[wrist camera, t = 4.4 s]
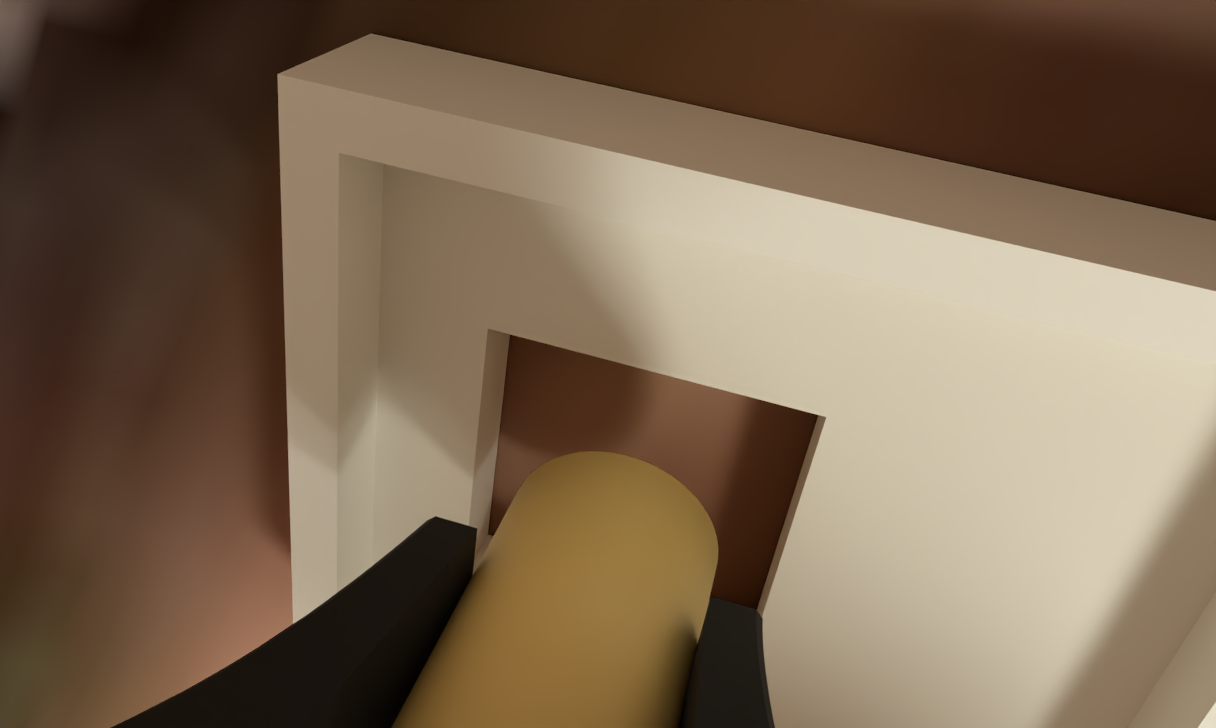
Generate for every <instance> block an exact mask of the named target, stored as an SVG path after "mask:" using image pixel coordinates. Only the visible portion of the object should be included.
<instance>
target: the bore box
mask: <svg viewBox="0 0 1216 728" xmlns="http://www.w3.org/2000/svg"><path fill="white" fill-rule="evenodd" d="M277 77H278V112H279V147H280V182H281V217H282V252H283V287H284V322H285V357H286V392H287V427H288V462H289V497H290V532H291V567H292V602H293V624H294V623H295V622H297V621H298V620H300V619H301V618H303V617H304V616H306V615H307V614H309V613H310V612H312V611H313V610H314V609H316V608H317V607H319V606H320V605H321V604H323V603H324V602H325V601H327V600H328V599H329V598H331V597H332V596H333V595H335V594H336V593H337V592H339V591H340V590H341V589H343V588H344V587H345V586H347V585H348V584H349V583H351V582H352V581H353V580H355V579H356V578H357V577H359V576H360V575H361V574H363V573H364V572H365V571H366V570H368V569H369V568H370V567H371V566H373V565H374V564H375V563H376V562H378V561H379V560H380V559H381V558H383V557H384V556H385V555H386V554H388V553H389V552H390V551H391V550H393V549H394V548H395V547H396V546H397V545H399V544H400V543H401V542H402V541H403V540H405V539H406V538H407V537H408V536H409V535H411V534H412V533H413V532H414V531H415V530H416V529H418V528H419V527H420V526H421V525H422V524H423V523H425V522H426V521H427V520H429V519H431V518H433V517H435V516H437V517H440V518H443V519H447V520H450V521H454V522H457V523H461V524H464V525H468V526H471V527H474V528H477V537H476V547H475V557H474V567H473V574H474V572H475V570H476V568H477V566H478V564H479V563H480V561H481V559H482V557H483V555H484V553H485V551H486V549H487V548H488V546H489V544H490V542H491V540H492V538H493V536H491V535H488V529H489V520H490V511H491V502H492V493H493V484H494V475H495V466H496V457H497V448H498V439H499V430H500V421H501V412H502V403H503V393H504V384H505V375H506V366H507V357H508V348H509V339H510V334H511V335H514V336H518V337H522V338H526V339H530V340H534V341H537V342H541V343H545V344H549V345H553V346H556V347H560V348H564V349H568V350H572V351H576V352H579V353H583V354H587V355H591V356H595V357H598V358H602V359H606V360H610V361H614V362H618V363H621V364H625V365H629V366H633V367H637V368H641V369H644V370H648V371H652V372H656V373H660V374H663V375H667V376H671V377H675V378H679V379H683V380H686V381H690V382H694V383H698V384H702V385H705V386H709V387H713V388H717V389H721V390H725V391H728V392H732V393H736V394H740V395H744V396H747V397H751V398H755V399H759V400H763V401H767V402H770V403H774V404H778V405H782V406H786V407H790V408H793V409H797V410H801V411H805V412H809V413H812V414H816V415H818V418H817V421H816V424H815V427H814V431H813V434H812V437H811V440H810V443H809V446H808V450H807V453H806V456H805V459H804V462H803V465H802V468H801V472H800V475H799V478H798V481H797V484H796V487H795V491H794V494H793V497H792V500H791V503H790V506H789V510H788V513H787V516H786V519H785V522H784V525H783V528H782V532H781V535H780V538H779V541H778V544H777V547H776V551H775V554H774V557H773V560H772V563H771V566H770V569H769V573H768V576H767V579H766V582H765V585H764V588H763V592H762V595H761V598H760V601H759V604H758V607H757V611H758V612H759V614H760V615H761V617H762V618H763V650H764V661H765V669H766V677H767V684H768V691H769V698H770V704H771V709H772V715H773V720H774V725H775V728H1216V221H1213V220H1209V219H1204V218H1200V217H1195V216H1191V215H1186V214H1182V213H1177V212H1173V211H1168V210H1164V209H1159V208H1155V207H1150V206H1146V205H1141V204H1137V203H1132V202H1128V201H1123V200H1119V199H1114V198H1110V197H1105V196H1101V195H1096V194H1092V193H1087V192H1083V191H1078V190H1074V189H1069V188H1065V187H1060V186H1056V185H1051V184H1047V183H1042V182H1038V181H1033V180H1029V179H1024V178H1020V177H1015V176H1011V175H1006V174H1002V173H997V172H993V171H988V170H984V169H979V168H975V167H970V166H966V165H961V164H957V163H952V162H948V161H943V160H939V159H934V158H930V157H925V156H921V155H916V154H912V153H907V152H903V151H898V150H894V149H889V148H885V147H880V146H876V145H871V144H867V143H862V142H858V141H853V140H849V139H844V138H840V137H835V136H831V135H826V134H822V133H817V132H813V131H808V130H804V129H799V128H795V127H790V126H786V125H781V124H777V123H772V122H768V121H763V120H759V119H754V118H750V117H745V116H741V115H736V114H732V113H727V112H723V111H718V110H714V109H709V108H705V107H700V106H696V105H691V104H687V103H682V102H677V101H673V100H668V99H664V98H659V97H655V96H650V95H646V94H641V93H637V92H632V91H628V90H623V89H619V88H614V87H610V86H605V85H601V84H596V83H592V82H587V81H583V80H578V79H574V78H569V77H565V76H560V75H556V74H551V73H547V72H542V71H538V70H533V69H529V68H524V67H520V66H515V65H511V64H506V63H502V62H497V61H493V60H488V59H484V58H479V57H475V56H470V55H466V54H461V53H457V52H452V51H448V50H443V49H439V48H434V47H430V46H425V45H421V44H416V43H412V42H407V41H403V40H398V39H394V38H389V37H385V36H380V35H376V34H369V35H366V36H364V37H362V38H360V39H357V40H355V41H353V42H350V43H348V44H346V45H343V46H341V47H339V48H337V49H334V50H332V51H330V52H327V53H325V54H323V55H320V56H318V57H316V58H314V59H311V60H309V61H307V62H304V63H302V64H300V65H297V66H295V67H293V68H291V69H288V70H286V71H284V72H281V73H279V74H277ZM709 601H710V599H709ZM708 605H709V602H708ZM707 608H708V606H707ZM706 612H707V611H706Z"/></svg>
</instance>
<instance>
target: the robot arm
mask: <svg viewBox="0 0 1216 728" xmlns="http://www.w3.org/2000/svg"><path fill="white" fill-rule="evenodd" d="M476 537H477V528H474V527H471V526H468V525H464V524H461V523H457V522H454V521H450V520H447V519H443V518H440V517H437V516H435V517H433V518H431V519H429V520H427V521H426V522H425V523H423V524H422V525H421V526H420V527H419V528H418V529H416V530H415V531H414V532H413V533H412V534H411V535H409V536H408V537H407V538H406V539H405V540H403V541H402V542H401V543H400V544H399V545H397V546H396V547H395V548H394V549H393V550H391V551H390V552H389V553H388V554H386V555H385V556H384V557H383V558H381V559H380V560H379V561H378V562H376V563H375V564H374V565H373V566H371V567H370V568H369V569H368V570H366V571H365V572H364V573H363V574H361V575H360V576H359V577H357V578H356V579H355V580H353V581H352V582H351V583H349V584H348V585H347V586H345V587H344V588H343V589H341V590H340V591H339V592H337V593H336V594H335V595H333V596H332V597H331V598H329V599H328V600H327V601H325V602H324V603H323V604H321V605H320V606H319V607H317V608H316V609H314V610H313V611H312V612H310V613H309V614H307V615H306V616H304V617H303V618H301V619H300V620H298V621H297V622H295V623H294V624H292V625H291V626H289V627H288V628H286V629H285V630H283V631H282V632H280V633H279V634H277V635H276V636H274V637H273V638H272V639H270V640H269V641H267V642H266V643H264V644H263V645H261V646H260V647H258V648H256V649H255V650H253V651H252V652H250V653H248V654H247V655H245V656H244V657H242V658H240V659H239V660H237V661H235V662H234V663H232V664H230V665H229V666H227V667H225V668H224V669H222V670H220V671H219V672H217V673H215V674H213V675H212V676H210V677H208V678H206V679H204V680H203V681H201V682H199V683H197V684H196V685H194V686H192V687H190V688H188V689H187V690H185V691H183V692H181V693H179V694H177V695H175V696H173V697H171V698H169V699H167V700H165V701H163V702H161V703H160V704H158V705H156V706H154V707H152V708H150V709H148V710H146V711H144V712H142V713H140V714H138V715H136V716H134V717H132V718H130V719H128V720H126V721H124V722H122V723H119V724H117V725H115V726H113V727H111V728H391V727H392V725H393V724H394V722H395V720H396V718H397V716H398V714H399V712H400V710H401V709H402V707H403V705H404V703H405V701H406V699H407V697H408V695H409V694H410V692H411V690H412V688H413V686H414V684H415V682H416V680H417V679H418V677H419V675H420V673H421V671H422V669H423V667H424V665H425V664H426V662H427V660H428V658H429V656H430V654H431V652H432V651H433V649H434V647H435V645H436V643H437V641H438V639H439V637H440V636H441V634H442V632H443V630H444V628H445V626H446V624H447V622H448V621H449V619H450V617H451V615H452V613H453V611H454V609H455V607H456V606H457V604H458V602H459V600H460V598H461V596H462V594H463V592H464V591H465V589H466V587H467V585H468V583H469V581H470V579H471V577H472V576H473V567H474V557H475V547H476ZM679 728H775V725H774V720H773V715H772V709H771V704H770V698H769V691H768V684H767V677H766V669H765V661H764V650H763V618H762V617H761V615H760V614H759V612H758V611H757V610H756V609H753V608H749V607H746V606H742V605H739V604H735V603H732V602H729V601H725V600H722V599H718V598H715V597H711V598H710V601H709V605H708V608H707V612H706V615H705V619H704V623H703V626H702V630H701V633H700V637H699V640H698V644H697V648H696V652H695V656H694V661H693V665H692V669H691V673H690V678H689V682H688V686H687V690H686V695H685V699H684V703H683V708H682V714H681V720H680V725H679Z"/></svg>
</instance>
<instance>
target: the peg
mask: <svg viewBox="0 0 1216 728" xmlns="http://www.w3.org/2000/svg"><path fill="white" fill-rule="evenodd" d="M718 549H719V548H718V541H717V536H716V532H715V529H714V526H713V524H712V522H711V519H710V517H709V515H708V513H707V512H706V510H705V509H704V507H703V506H702V504H701V503H700V502H699V501H698V499H697V498H696V497H695V496H694V495H693V493H692V492H690V491H689V490H688V489H687V488H686V487H685V486H684V485H683V484H682V483H681V482H679V481H678V480H677V479H675V478H674V477H673V476H671V475H670V474H668V473H666V472H665V471H663V470H661V469H660V468H658V467H656V466H654V465H651V464H649V463H647V462H645V461H642V460H639V459H636V458H633V457H631V456H626V455H622V454H618V453H611V452H602V451H586V452H577V453H571V454H567V455H563V456H560V457H557V458H555V459H552V460H550V461H548V462H546V463H544V464H543V465H541V466H539V467H538V468H537V469H535V470H534V471H533V472H532V473H531V474H530V475H529V476H528V477H527V478H526V479H525V480H524V482H523V483H522V485H521V486H520V488H519V489H518V491H517V493H516V495H515V497H514V499H513V501H512V503H511V504H510V506H509V508H508V510H507V512H506V514H505V516H504V518H503V519H502V521H501V523H500V525H499V527H498V529H497V531H496V533H495V534H494V536H493V538H492V540H491V542H490V544H489V546H488V548H487V549H486V551H485V553H484V555H483V557H482V559H481V561H480V563H479V564H478V566H477V568H476V570H475V572H474V574H473V576H472V577H471V579H470V581H469V583H468V585H467V587H466V589H465V591H464V592H463V594H462V596H461V598H460V600H459V602H458V604H457V606H456V607H455V609H454V611H453V613H452V615H451V617H450V619H449V621H448V622H447V624H446V626H445V628H444V630H443V632H442V634H441V636H440V637H439V639H438V641H437V643H436V645H435V647H434V649H433V651H432V652H431V654H430V656H429V658H428V660H427V662H426V664H425V665H424V667H423V669H422V671H421V673H420V675H419V677H418V679H417V680H416V682H415V684H414V686H413V688H412V690H411V692H410V694H409V695H408V697H407V699H406V701H405V703H404V705H403V707H402V709H401V710H400V712H399V714H398V716H397V718H396V720H395V722H394V724H393V725H392V727H391V728H679V725H680V720H681V714H682V708H683V703H684V699H685V695H686V690H687V686H688V682H689V678H690V673H691V669H692V665H693V661H694V656H695V652H696V648H697V644H698V640H699V637H700V633H701V630H702V626H703V623H704V619H705V615H706V611H707V606H708V602H709V598H710V593H711V589H712V585H713V581H714V576H715V572H716V568H717V563H718Z"/></svg>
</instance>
